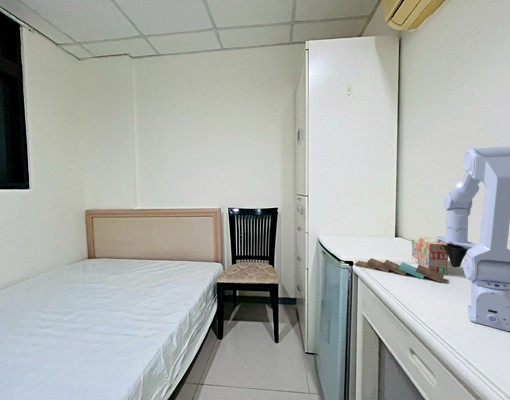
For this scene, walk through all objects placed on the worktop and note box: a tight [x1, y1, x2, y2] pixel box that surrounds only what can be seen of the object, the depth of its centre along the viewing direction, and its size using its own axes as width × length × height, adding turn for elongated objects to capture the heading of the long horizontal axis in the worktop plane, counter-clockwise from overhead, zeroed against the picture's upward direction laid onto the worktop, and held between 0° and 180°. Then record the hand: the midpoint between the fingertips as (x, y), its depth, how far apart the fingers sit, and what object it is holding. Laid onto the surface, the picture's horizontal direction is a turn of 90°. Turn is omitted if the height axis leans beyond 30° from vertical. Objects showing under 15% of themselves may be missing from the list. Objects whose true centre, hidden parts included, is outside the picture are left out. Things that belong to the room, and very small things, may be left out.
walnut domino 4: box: [416, 264, 445, 283], centre depth 87 cm, size 2×5×8 cm
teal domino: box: [399, 261, 425, 280], centre depth 91 cm, size 2×5×8 cm
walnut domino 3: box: [383, 259, 408, 277], centre depth 94 cm, size 2×5×8 cm
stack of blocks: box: [411, 236, 449, 276], centre depth 101 cm, size 21×6×12 cm, turn 162°
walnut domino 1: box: [354, 260, 377, 271], centre depth 101 cm, size 2×5×8 cm
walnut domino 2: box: [367, 257, 391, 273], centre depth 98 cm, size 2×5×8 cm
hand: (455, 266), depth 82 cm, fingers closed
